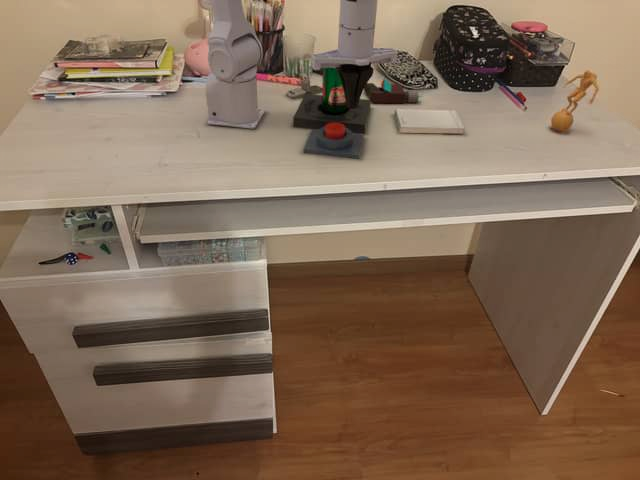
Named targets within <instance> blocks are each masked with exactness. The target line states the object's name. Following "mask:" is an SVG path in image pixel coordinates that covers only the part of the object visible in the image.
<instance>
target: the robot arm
mask: <svg viewBox="0 0 640 480" xmlns="http://www.w3.org/2000/svg"><path fill="white" fill-rule="evenodd" d="M209 6H210V10H211V14H212V18H213V25H212V27H211V30H210V31H209V34H208V36H207V39H206V40H207V44H208V45H207V46H208V52H207V63H208V66H209V70H210V71H211V72H210V73H209V74H208V75H207V78H206V81H205V98H206V107H207V116H208V121H207V124H208V125H210V126H211V125H212V126H220V127H221V126H222V127H233V128H240V129H250V130H251V129H256V128H257V126H258V124H259V122H260V121H261V119H262V118H263V116H264V114H265V110H264V109H259V99H258V98H259V97H258V81H257V80H258V78H257V72H258V66H259V65H260V63H261V62H262V61H263V57H264V51H263V45H262V44H261V42H260V40H259V38H258V36H257V34H256V29H255V26H254V25H253V24H252V23H251V22H250V21H248V20H247V18H246V17H245V11H244V5H243V0H209ZM377 10H378V0H339V15H338V16H339V18H338V37H337V49H333V50H328V51H325V52H320V53H319V52H318V53H313V54H310V67H311V69H313V71H321V69H323V68H329V67H336V70H337V72H338V75H339V77H340V80H341V83H342V86H343V90H344V95H345V102H346V106H347V107H348V108H349V109H355V108H357V106H358V102H359V99H361V97H362V94H363V93H364V88H365V86H366V84H367V83H369V81H370V79H371V78H373V75H374V68H373V67H372V65H374V64H375V65H376V64H385V63H389V64H397V63H398V62H397V61H398V53H399V52H398V51H397V50H396V49H395V48H394V47H389V48H387V47H386V48H385V47H374V43H375V42H374V41H375V33H376V21H377V20H376V19H377Z"/></svg>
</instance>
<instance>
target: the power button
mask: <svg viewBox="0 0 640 480" xmlns="http://www.w3.org/2000/svg"><path fill="white" fill-rule="evenodd" d="M325 136H326V137H328V138H330V139H341V138H344V137H345V126H344V125H343V124H341V123H329V124H327V125H326V126H325Z"/></svg>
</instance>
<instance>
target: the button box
mask: <svg viewBox="0 0 640 480" xmlns="http://www.w3.org/2000/svg"><path fill="white" fill-rule="evenodd" d="M364 137H365V134H359V133H352V132H351V130H350V129H347V128H345V137H344V138H341V139H330V138H328V137H326V136H325V127H323V128H321V129H311V130H310V132H309V135H308V138H307V140H306V142H305V145H304V148H303V153H304V154H308V155H317V156H318V155H319V156H327V157H335V158H345V159H354V160H355V159H356V160H359V159H360V156H361V152H362V147H363V142H364Z"/></svg>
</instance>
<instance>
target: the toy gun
mask: <svg viewBox="0 0 640 480" xmlns="http://www.w3.org/2000/svg"><path fill="white" fill-rule="evenodd" d="M380 85H381V86H377V85H375V83H373V82H367V84H366V86H365V88H364V90H363V93H364V94H366V95H367V96H368V97H369V100H371V103H373V104H381V103H382V104H384V103H386V104H391V103H392V104H405V102H406V103H418V102H419V98H421V97H423V96H422V95H419V91H418V89H417V90H416V89H415V90H409V89H408V90H404V88H403V86H402V84H396V83H395V82H393V81H391V80H389V79H387V78H383V80H382V81H381V83H380Z"/></svg>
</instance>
